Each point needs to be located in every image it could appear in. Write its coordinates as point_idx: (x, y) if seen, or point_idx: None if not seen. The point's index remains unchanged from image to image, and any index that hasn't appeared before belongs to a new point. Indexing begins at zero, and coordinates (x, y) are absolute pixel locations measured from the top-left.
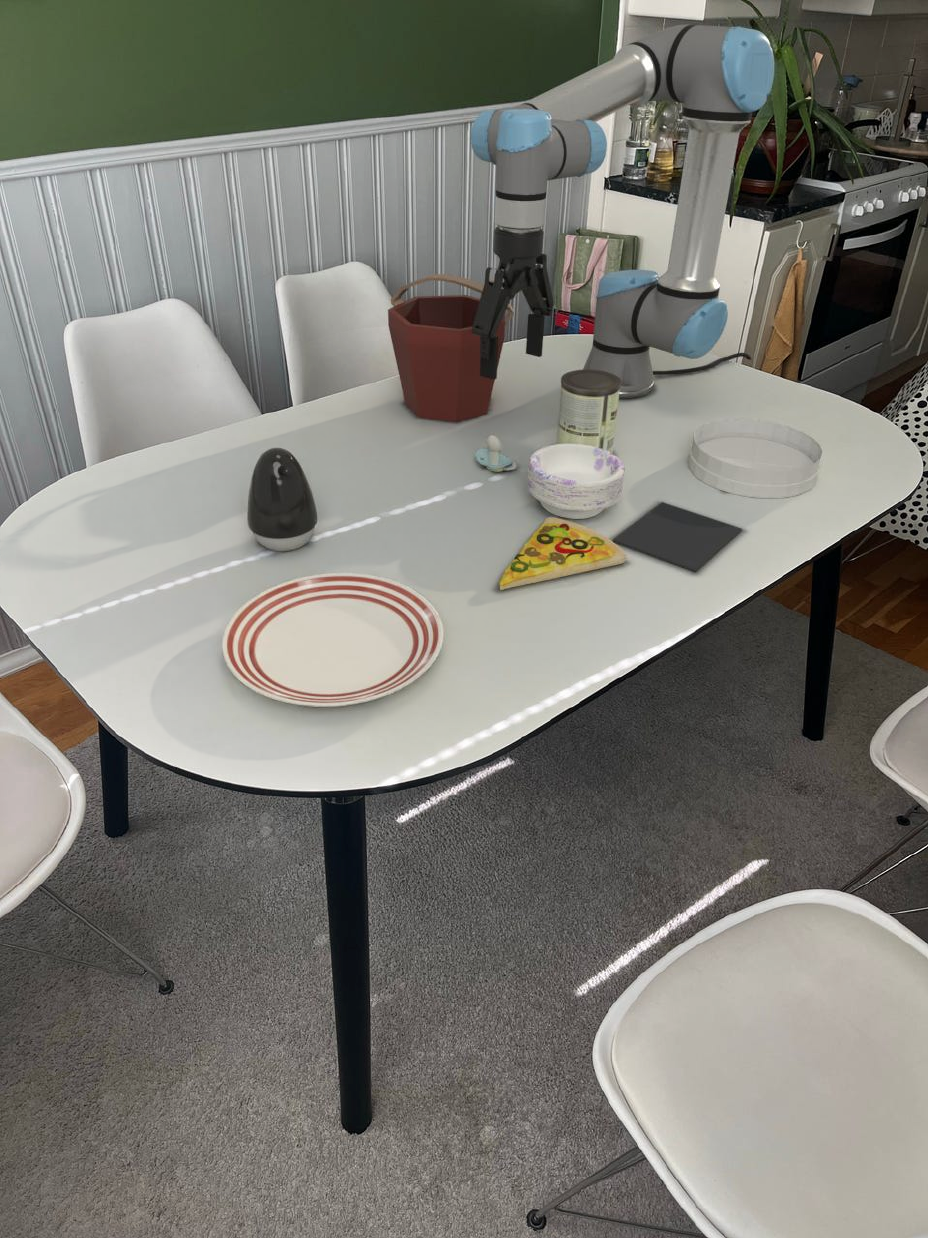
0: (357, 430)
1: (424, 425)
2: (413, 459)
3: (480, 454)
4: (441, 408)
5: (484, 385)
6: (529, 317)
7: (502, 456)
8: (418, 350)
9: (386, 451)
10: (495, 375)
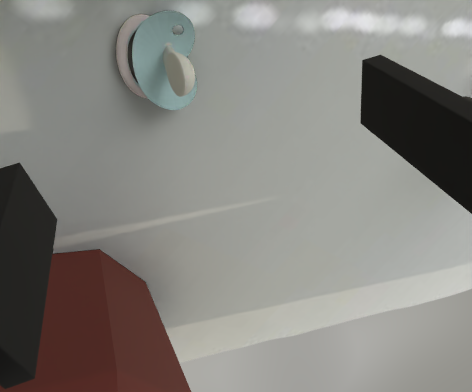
0: (248, 276)
1: (156, 257)
2: (256, 167)
3: (179, 97)
4: (122, 277)
5: None
6: (31, 357)
7: (137, 68)
8: (177, 384)
9: (266, 208)
10: (379, 62)
